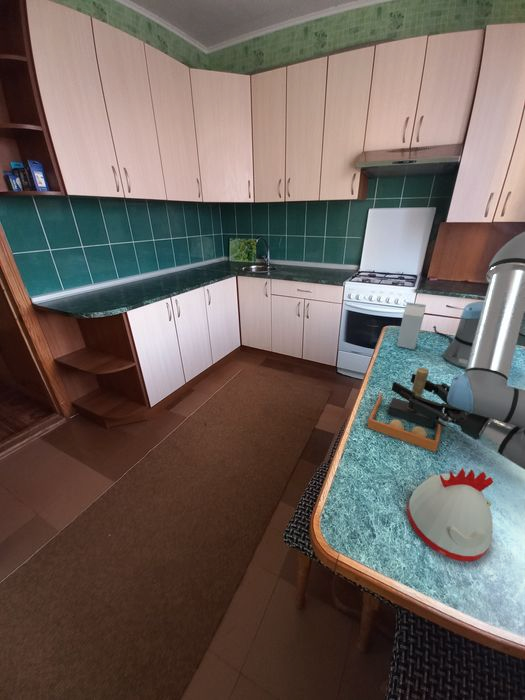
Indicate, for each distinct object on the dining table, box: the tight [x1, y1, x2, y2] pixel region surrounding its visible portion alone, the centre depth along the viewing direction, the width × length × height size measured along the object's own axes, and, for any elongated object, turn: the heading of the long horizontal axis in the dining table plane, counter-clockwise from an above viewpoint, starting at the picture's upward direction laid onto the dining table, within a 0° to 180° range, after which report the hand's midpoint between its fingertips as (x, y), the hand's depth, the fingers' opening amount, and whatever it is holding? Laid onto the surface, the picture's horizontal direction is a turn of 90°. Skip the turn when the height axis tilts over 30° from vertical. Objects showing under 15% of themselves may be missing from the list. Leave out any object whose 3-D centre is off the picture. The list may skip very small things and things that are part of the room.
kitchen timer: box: [406, 467, 494, 562], centre depth 54 cm, size 14×14×15 cm
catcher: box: [366, 392, 444, 453], centre depth 83 cm, size 15×17×3 cm
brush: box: [387, 367, 436, 429], centre depth 82 cm, size 5×12×16 cm, turn 57°
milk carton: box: [396, 301, 427, 350], centre depth 123 cm, size 7×7×19 cm
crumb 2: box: [410, 425, 428, 438], centre depth 77 cm, size 4×4×4 cm
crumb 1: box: [388, 419, 405, 430], centre depth 80 cm, size 4×4×4 cm
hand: (402, 381), depth 85 cm, fingers open, 8 cm apart
